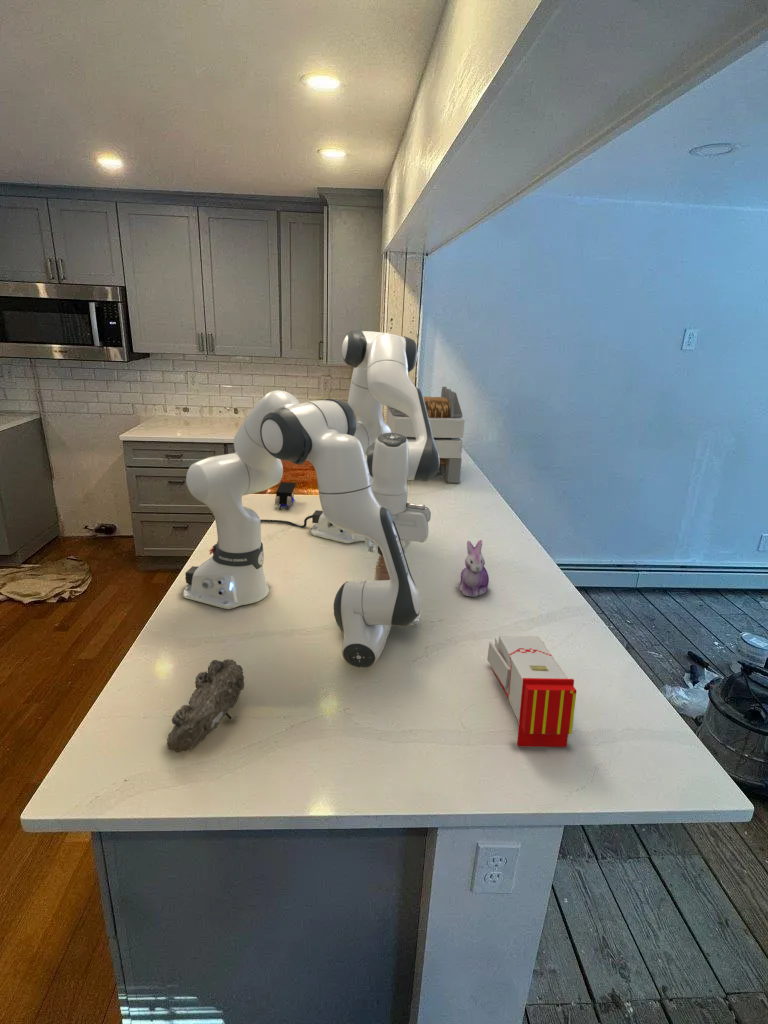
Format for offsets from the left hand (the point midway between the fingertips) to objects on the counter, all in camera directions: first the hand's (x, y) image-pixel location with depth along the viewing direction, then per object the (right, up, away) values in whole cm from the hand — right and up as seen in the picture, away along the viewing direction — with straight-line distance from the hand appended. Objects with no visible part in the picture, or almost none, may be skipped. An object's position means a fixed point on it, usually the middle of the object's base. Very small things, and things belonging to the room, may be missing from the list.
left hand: (384, 592), depth 147 cm
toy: (+28, -18, -30) cm, 45 cm away
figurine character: (-39, +24, +76) cm, 89 cm away
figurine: (+25, -1, +14) cm, 29 cm away
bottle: (0, -5, +1) cm, 5 cm away
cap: (0, +13, -6) cm, 14 cm away
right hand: (0, +11, -5) cm, 12 cm away
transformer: (+17, +40, +128) cm, 135 cm away
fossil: (-33, -18, -39) cm, 54 cm away
